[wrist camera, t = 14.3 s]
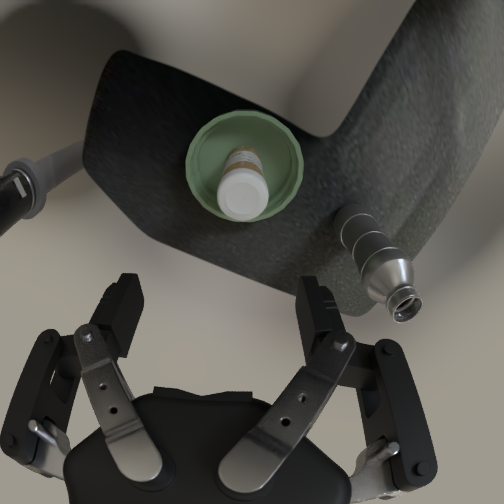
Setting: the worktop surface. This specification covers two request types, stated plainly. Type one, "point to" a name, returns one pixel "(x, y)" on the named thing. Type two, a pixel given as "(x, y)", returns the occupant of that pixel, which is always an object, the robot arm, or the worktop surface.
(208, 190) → the bowl
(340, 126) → the worktop surface
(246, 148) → the sprinkles bottle
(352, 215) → the plastic bottle
